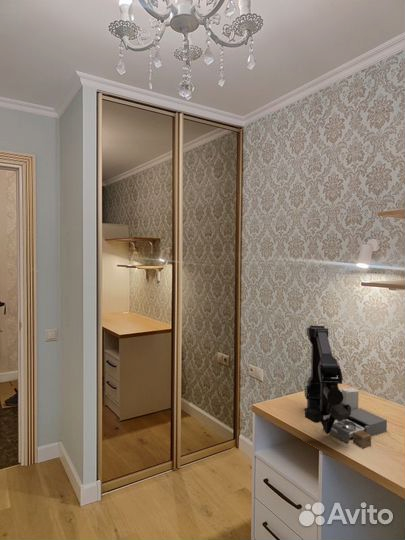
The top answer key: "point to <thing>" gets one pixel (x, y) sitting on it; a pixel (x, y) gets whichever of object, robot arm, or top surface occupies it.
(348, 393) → the skincare box
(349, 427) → the disc
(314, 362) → the robot arm
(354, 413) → the housing
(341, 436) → the tray
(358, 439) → the walnut block
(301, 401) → the top surface
